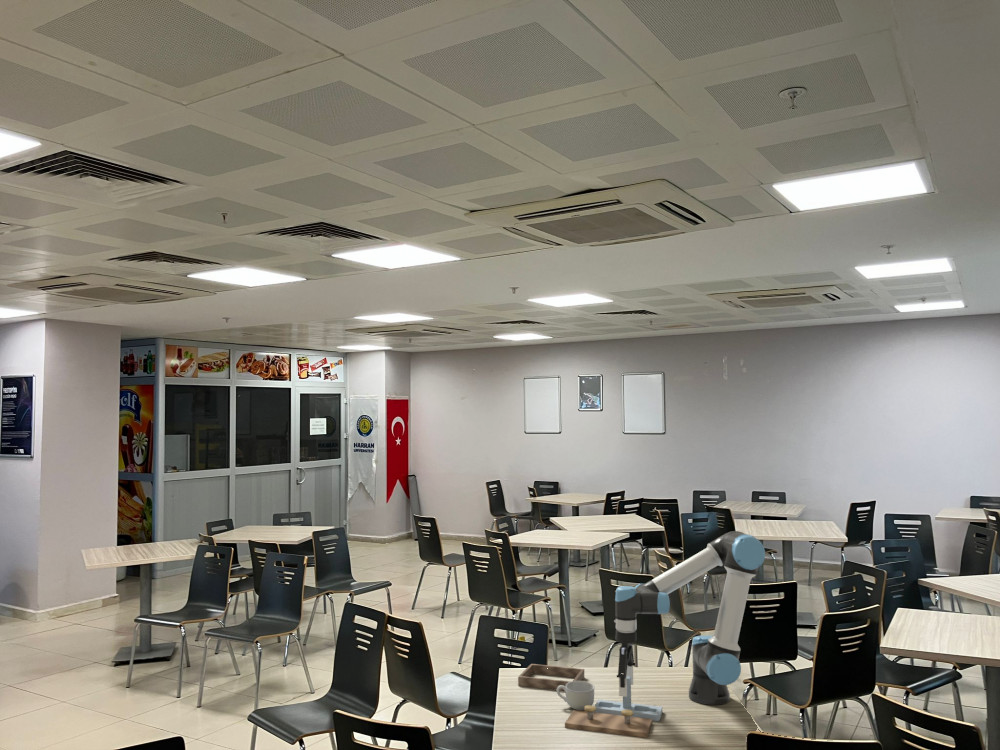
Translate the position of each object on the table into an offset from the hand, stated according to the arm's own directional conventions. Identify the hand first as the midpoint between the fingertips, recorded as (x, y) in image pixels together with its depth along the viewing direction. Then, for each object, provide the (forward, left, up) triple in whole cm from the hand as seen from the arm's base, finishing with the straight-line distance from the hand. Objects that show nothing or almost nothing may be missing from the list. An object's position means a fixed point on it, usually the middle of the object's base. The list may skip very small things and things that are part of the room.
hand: (626, 690), depth 280 cm
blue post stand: (-1, 0, -8) cm, 8 cm away
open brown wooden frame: (+35, -25, -8) cm, 44 cm away
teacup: (+19, 0, -8) cm, 21 cm away
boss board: (+4, +14, -8) cm, 17 cm away
